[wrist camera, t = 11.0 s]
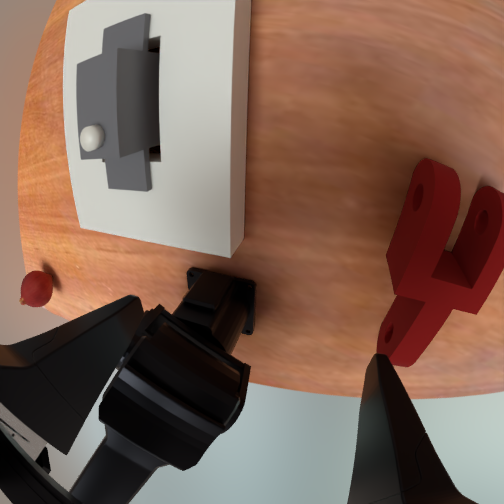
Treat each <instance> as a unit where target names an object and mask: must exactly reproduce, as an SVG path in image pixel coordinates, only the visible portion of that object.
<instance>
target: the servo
mask: <svg viewBox="0 0 504 504" xmlns="http://www.w3.org/2000/svg"><path fill="white" fill-rule="evenodd" d="M150 18H151V15H150V14H147V13H144V14H141V15H138V16H135V17H132V18H130V19H127V20H124V21H122V22H119V23H117V24H114V25H112V26H109V27H107V28H105V29H104V31H103V43H102V54H99V55H97V56H94V57H92V58H90V59H87V60H85V61H82V62H80V63H78V64H77V74H76V101H77V124H78V137H79V148H80V157H81V160H87V159H105V165H106V174H107V181H108V188H109V189H119V190H132V191H144V192H148V191H150V190H151V189H152V183H151V171H150V158H149V148H151V147H154V146H158V145H160V124H159V62H160V53H154V52H148V45H149V30H150Z"/></svg>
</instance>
